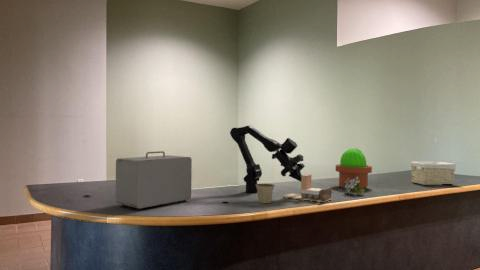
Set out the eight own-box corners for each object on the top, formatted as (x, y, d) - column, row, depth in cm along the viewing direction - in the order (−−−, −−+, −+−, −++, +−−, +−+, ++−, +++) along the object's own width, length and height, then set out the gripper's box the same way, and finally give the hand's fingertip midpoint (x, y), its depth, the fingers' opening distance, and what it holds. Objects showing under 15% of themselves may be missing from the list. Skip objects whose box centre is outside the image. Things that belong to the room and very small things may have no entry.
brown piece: (300, 197, 192) (300, 175, 192) (306, 194, 199) (306, 174, 199) (318, 199, 187) (319, 177, 187) (324, 197, 194) (324, 175, 193)
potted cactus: (334, 188, 230) (335, 148, 229) (336, 183, 251) (336, 146, 250) (372, 190, 223) (373, 149, 223) (370, 185, 244) (371, 147, 244)
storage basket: (440, 182, 266) (440, 161, 266) (456, 185, 250) (457, 163, 250) (409, 182, 263) (409, 161, 262) (423, 185, 247) (424, 163, 246)
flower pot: (274, 204, 179) (275, 186, 179) (255, 204, 180) (255, 186, 180) (274, 200, 189) (274, 183, 189) (255, 200, 189) (255, 183, 189)
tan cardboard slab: (282, 197, 197) (282, 185, 197) (291, 195, 205) (291, 183, 205) (324, 203, 184) (324, 189, 184) (331, 200, 193) (331, 187, 192)
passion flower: (347, 203, 211) (339, 184, 217) (365, 199, 213) (356, 181, 219) (353, 195, 202) (345, 175, 208) (371, 191, 204) (362, 172, 210)
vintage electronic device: (167, 196, 196) (167, 149, 196) (191, 201, 185) (191, 151, 184) (113, 206, 172) (113, 151, 171) (136, 212, 160) (137, 153, 160)
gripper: (286, 150, 191) (306, 173, 185) (301, 148, 206) (320, 170, 200) (272, 164, 195) (291, 187, 189) (288, 162, 211) (306, 183, 205)
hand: (303, 181), depth 196 cm, fingers closed, pressing on brown piece
